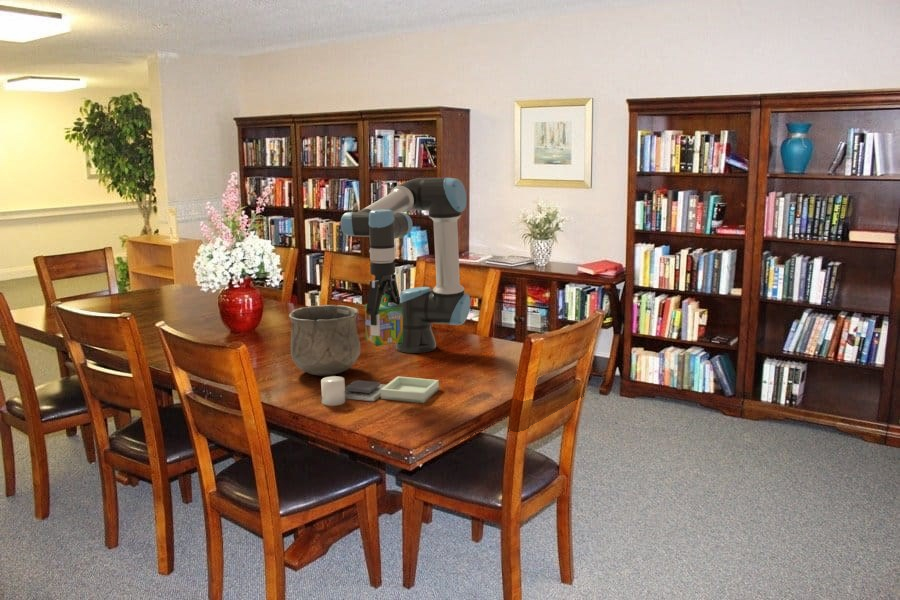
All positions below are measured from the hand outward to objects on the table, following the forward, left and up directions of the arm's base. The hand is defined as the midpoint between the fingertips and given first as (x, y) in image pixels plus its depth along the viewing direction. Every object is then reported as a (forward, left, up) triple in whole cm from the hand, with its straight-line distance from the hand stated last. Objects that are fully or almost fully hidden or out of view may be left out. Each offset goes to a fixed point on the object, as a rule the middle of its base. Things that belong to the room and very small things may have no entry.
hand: (384, 330), depth 238 cm
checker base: (+2, -7, -20) cm, 21 cm away
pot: (-14, -28, -20) cm, 37 cm away
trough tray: (-2, +7, -20) cm, 22 cm away
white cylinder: (+12, -12, -20) cm, 27 cm away
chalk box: (0, 0, -4) cm, 4 cm away
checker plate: (+2, -7, -19) cm, 20 cm away
